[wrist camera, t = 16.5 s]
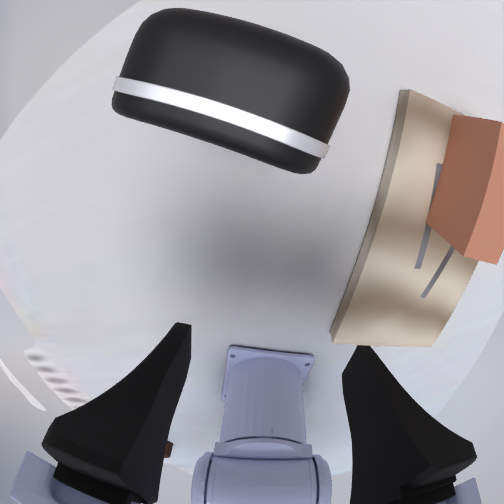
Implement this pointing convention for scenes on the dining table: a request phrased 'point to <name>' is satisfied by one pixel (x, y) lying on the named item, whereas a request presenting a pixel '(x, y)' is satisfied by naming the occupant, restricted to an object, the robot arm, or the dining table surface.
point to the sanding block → (472, 189)
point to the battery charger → (233, 86)
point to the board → (405, 242)
